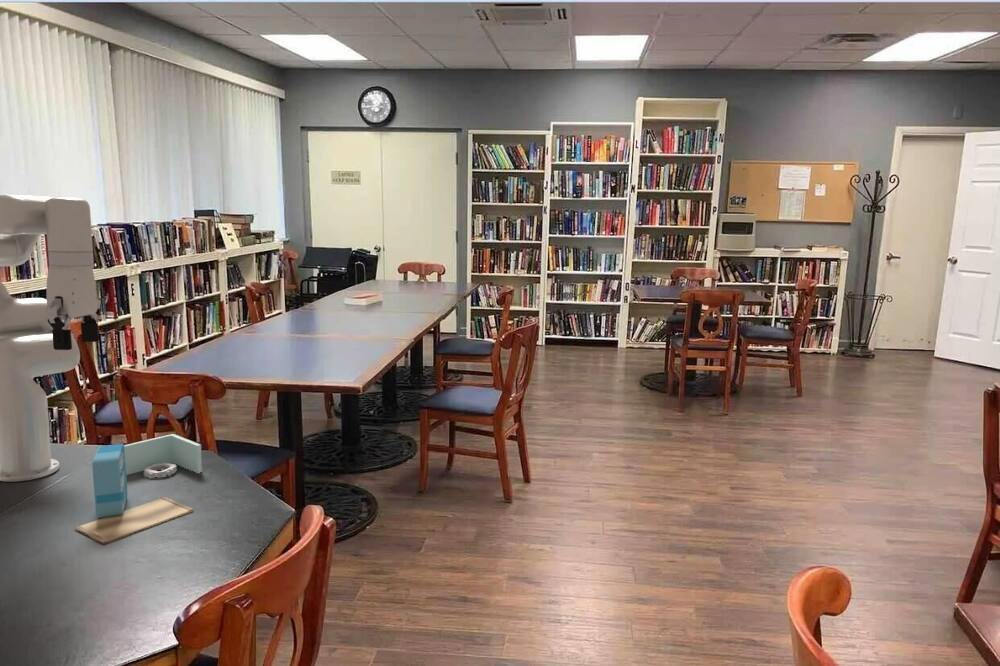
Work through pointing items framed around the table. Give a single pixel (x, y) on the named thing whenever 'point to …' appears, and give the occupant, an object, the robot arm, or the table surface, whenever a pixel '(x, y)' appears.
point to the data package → (110, 480)
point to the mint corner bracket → (162, 456)
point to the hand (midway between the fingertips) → (77, 345)
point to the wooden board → (134, 520)
